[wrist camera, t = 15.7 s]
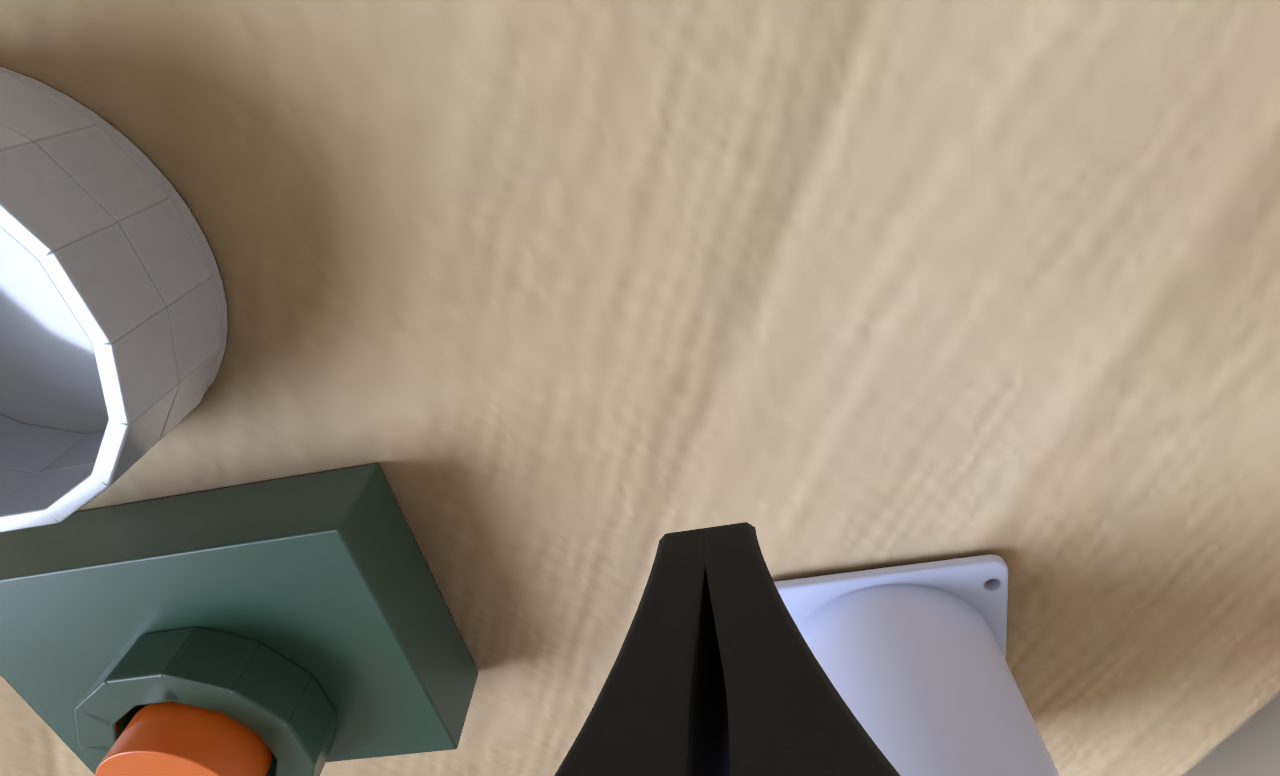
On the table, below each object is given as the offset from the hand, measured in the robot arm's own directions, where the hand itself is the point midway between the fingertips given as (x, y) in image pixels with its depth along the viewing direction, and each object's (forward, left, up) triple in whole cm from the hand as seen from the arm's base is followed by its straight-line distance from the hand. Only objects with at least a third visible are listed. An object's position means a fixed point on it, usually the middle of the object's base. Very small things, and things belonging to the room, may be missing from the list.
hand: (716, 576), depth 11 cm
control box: (-8, +18, -10) cm, 22 cm away
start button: (-10, +18, -6) cm, 21 cm away
